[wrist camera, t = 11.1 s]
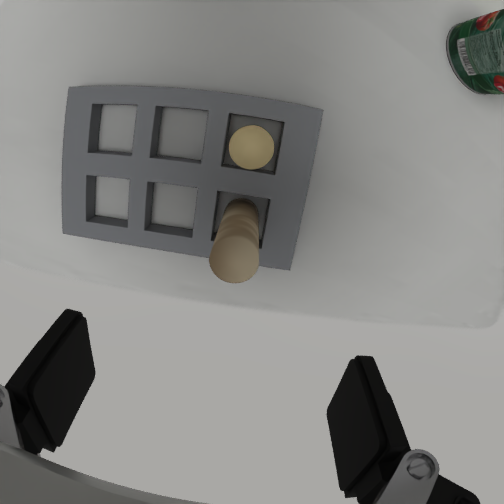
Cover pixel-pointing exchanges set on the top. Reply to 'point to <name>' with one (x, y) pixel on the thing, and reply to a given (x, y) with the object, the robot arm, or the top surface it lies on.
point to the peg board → (188, 168)
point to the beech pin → (236, 243)
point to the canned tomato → (479, 53)
